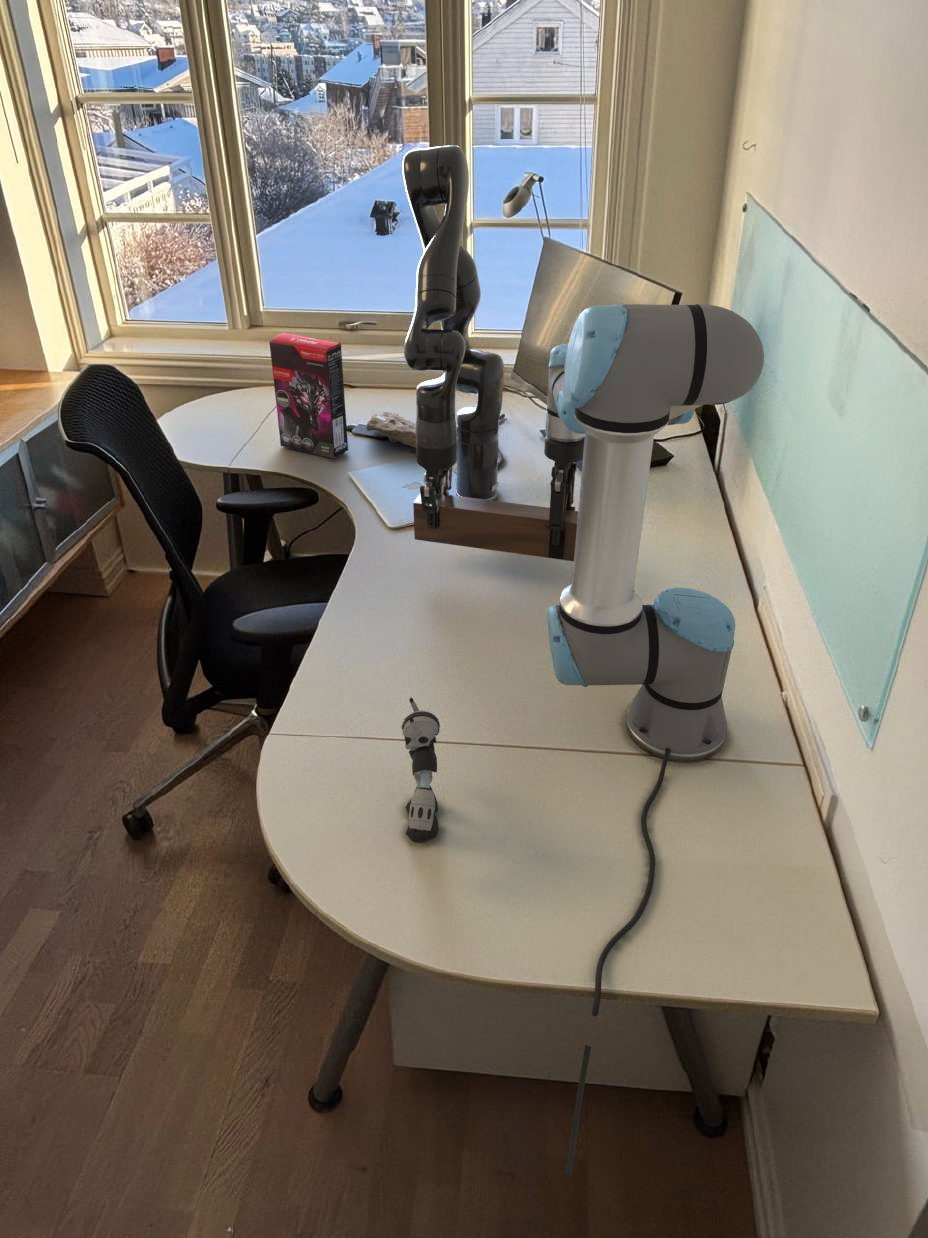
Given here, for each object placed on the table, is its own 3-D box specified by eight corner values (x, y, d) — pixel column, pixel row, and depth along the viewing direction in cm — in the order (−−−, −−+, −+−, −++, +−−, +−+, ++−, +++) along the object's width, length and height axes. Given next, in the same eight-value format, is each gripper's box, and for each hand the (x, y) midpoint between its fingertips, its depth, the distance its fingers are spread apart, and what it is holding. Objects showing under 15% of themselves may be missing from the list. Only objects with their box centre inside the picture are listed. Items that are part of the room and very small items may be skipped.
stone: (350, 435, 230) (355, 412, 228) (372, 427, 244) (376, 405, 241) (428, 460, 227) (434, 436, 224) (446, 450, 240) (451, 427, 238)
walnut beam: (577, 562, 173) (580, 524, 168) (414, 539, 180) (413, 502, 175) (581, 549, 177) (584, 511, 172) (422, 527, 184) (421, 491, 179)
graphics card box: (278, 447, 232) (266, 338, 217) (294, 437, 237) (284, 331, 222) (334, 460, 225) (326, 350, 210) (350, 450, 230) (343, 341, 215)
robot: (442, 875, 119) (441, 760, 108) (404, 877, 119) (400, 761, 107) (438, 770, 135) (437, 660, 124) (405, 771, 135) (401, 661, 124)
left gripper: (444, 456, 163) (445, 541, 172) (466, 426, 174) (465, 506, 184) (404, 452, 164) (407, 535, 174) (428, 422, 176) (429, 502, 185)
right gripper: (579, 456, 154) (569, 576, 167) (595, 418, 169) (585, 531, 182) (535, 451, 156) (529, 570, 169) (555, 414, 171) (548, 526, 183)
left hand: (437, 520), depth 179 cm, fingers closed on walnut beam, 5 cm apart
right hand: (558, 550), depth 175 cm, fingers closed on walnut beam, 5 cm apart
